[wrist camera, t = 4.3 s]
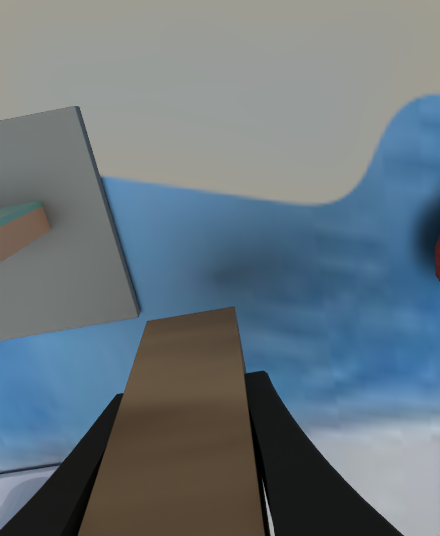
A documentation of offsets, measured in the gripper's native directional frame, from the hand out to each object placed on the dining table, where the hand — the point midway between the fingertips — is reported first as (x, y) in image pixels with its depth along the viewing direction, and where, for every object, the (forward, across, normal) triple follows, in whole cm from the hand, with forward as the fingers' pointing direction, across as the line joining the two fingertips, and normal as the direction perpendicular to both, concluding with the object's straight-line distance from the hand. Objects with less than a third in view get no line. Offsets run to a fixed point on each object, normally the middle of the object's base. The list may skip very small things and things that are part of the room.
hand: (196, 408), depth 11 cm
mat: (+10, +11, -4) cm, 15 cm away
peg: (+3, 0, 0) cm, 3 cm away
